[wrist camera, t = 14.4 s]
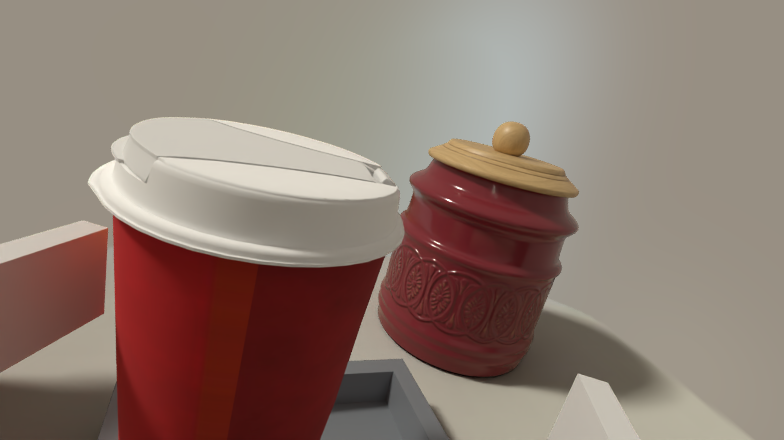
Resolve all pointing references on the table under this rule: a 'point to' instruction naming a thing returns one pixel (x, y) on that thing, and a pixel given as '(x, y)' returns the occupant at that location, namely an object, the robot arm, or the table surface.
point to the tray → (360, 406)
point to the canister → (477, 254)
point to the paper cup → (239, 276)
